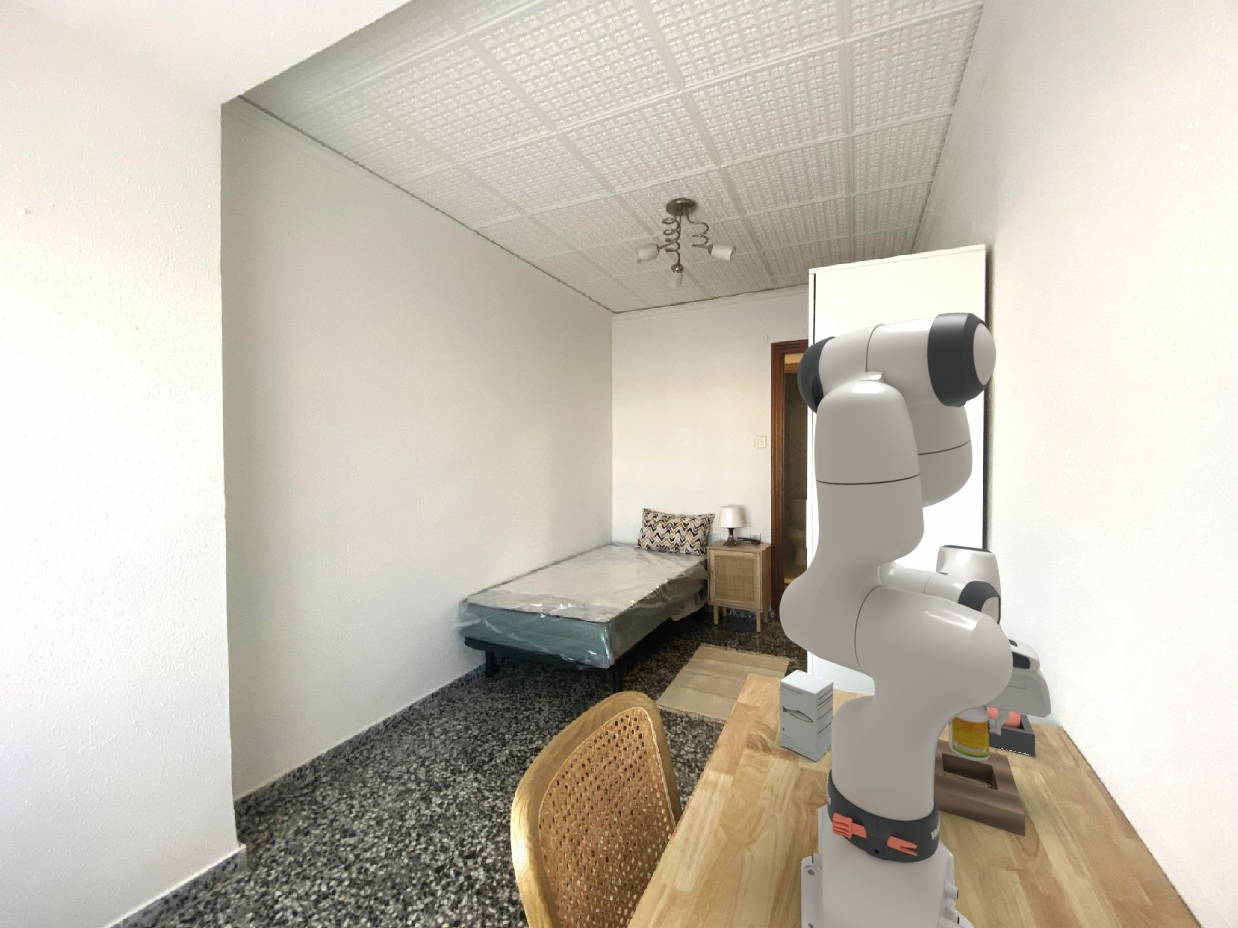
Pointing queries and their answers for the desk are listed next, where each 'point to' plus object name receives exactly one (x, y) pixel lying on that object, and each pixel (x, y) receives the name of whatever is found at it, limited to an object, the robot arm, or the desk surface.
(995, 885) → the desk surface
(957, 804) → the brown bottle holder
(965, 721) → the supplement bottle
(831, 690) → the supplement box
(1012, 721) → the button
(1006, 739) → the button box
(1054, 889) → the desk surface
